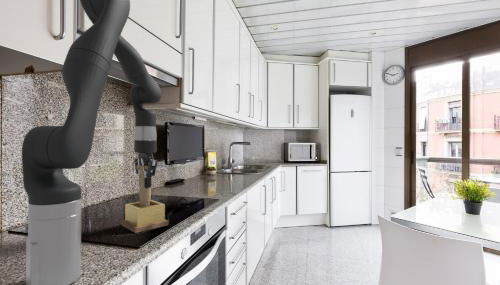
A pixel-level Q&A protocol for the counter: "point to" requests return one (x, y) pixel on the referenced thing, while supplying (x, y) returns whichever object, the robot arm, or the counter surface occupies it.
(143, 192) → the handle
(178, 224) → the counter surface
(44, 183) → the robot arm
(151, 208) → the sleeve block
